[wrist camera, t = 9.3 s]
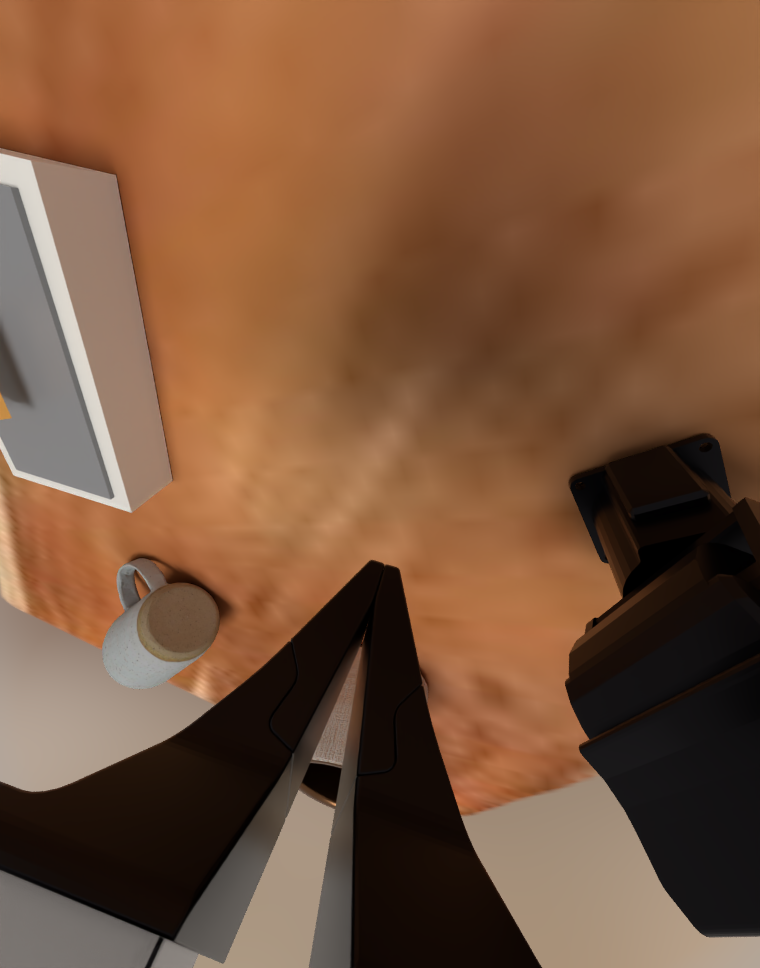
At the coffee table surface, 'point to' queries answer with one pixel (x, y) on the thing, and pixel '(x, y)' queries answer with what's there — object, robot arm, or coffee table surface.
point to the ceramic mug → (157, 628)
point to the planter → (334, 745)
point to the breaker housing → (74, 338)
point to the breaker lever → (3, 410)
